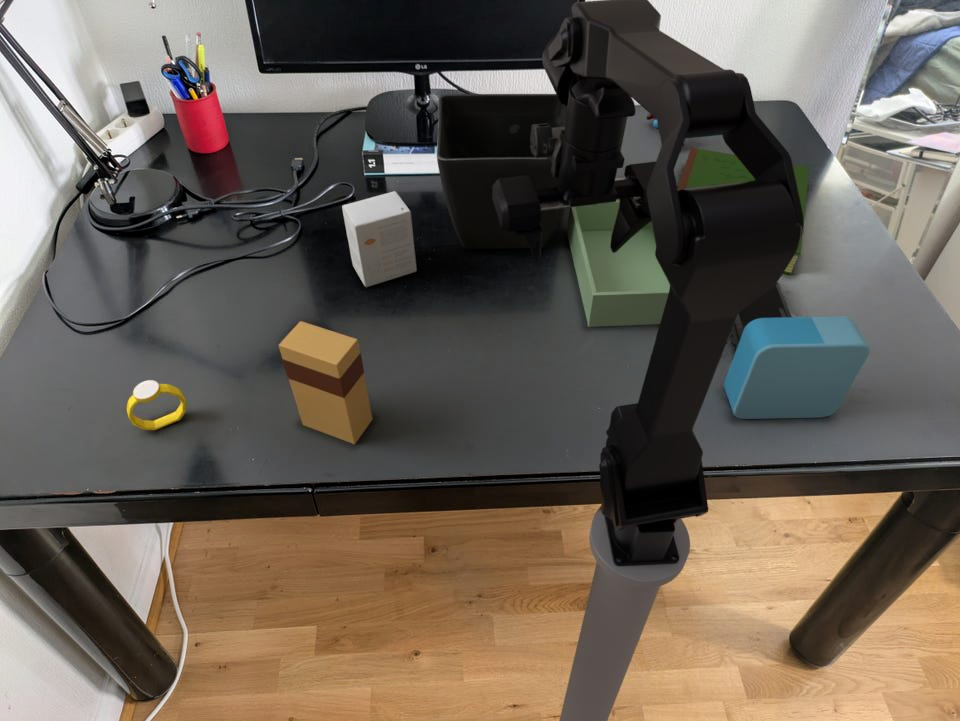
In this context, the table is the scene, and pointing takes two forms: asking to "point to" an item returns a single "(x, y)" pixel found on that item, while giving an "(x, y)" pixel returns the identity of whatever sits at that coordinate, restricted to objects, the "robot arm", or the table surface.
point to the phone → (761, 310)
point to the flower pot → (492, 160)
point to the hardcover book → (733, 178)
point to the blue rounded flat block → (794, 367)
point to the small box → (380, 238)
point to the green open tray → (615, 269)
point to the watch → (148, 393)
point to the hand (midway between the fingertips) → (574, 254)
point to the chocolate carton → (327, 381)
